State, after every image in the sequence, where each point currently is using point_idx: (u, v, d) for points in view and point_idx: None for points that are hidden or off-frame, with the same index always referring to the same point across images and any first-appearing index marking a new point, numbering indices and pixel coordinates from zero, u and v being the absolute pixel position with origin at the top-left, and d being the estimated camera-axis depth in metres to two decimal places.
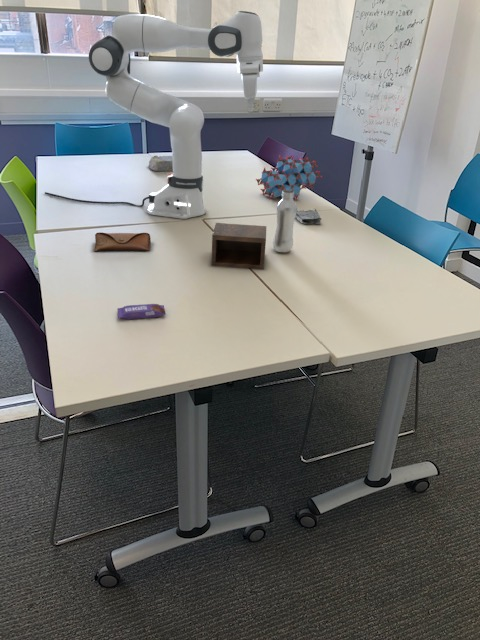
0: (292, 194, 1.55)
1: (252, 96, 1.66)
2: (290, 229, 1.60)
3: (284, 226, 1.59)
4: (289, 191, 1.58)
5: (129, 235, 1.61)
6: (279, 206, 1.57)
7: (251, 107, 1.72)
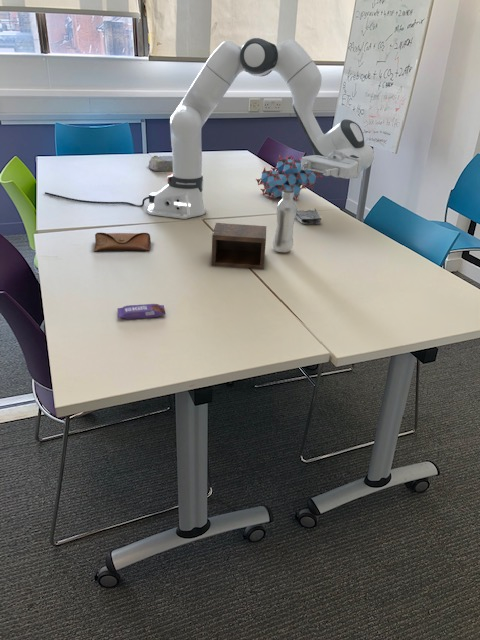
0: (292, 194, 1.55)
1: (348, 175, 1.59)
2: (290, 229, 1.60)
3: (284, 226, 1.59)
4: (289, 191, 1.58)
5: (129, 235, 1.61)
6: (279, 206, 1.57)
7: (329, 173, 1.59)
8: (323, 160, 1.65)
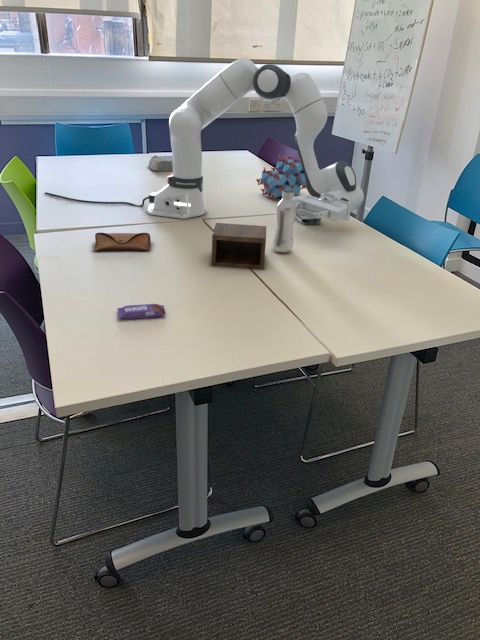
0: (292, 194, 1.55)
1: (337, 219, 1.64)
2: (290, 229, 1.60)
3: (284, 226, 1.59)
4: (289, 191, 1.58)
5: (129, 235, 1.61)
6: (279, 206, 1.57)
7: (320, 215, 1.64)
8: (314, 201, 1.70)
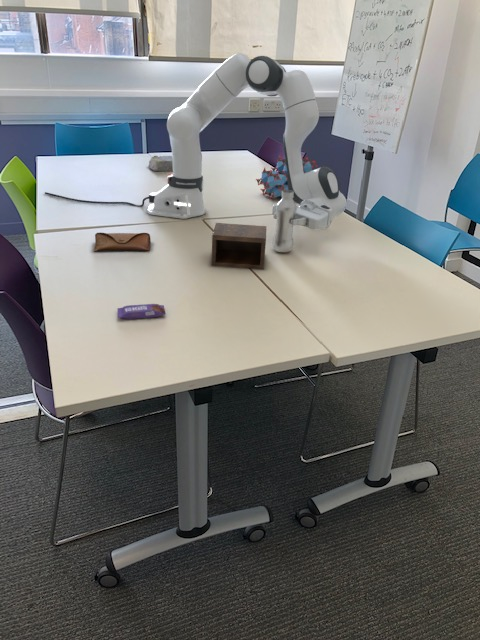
0: (292, 194, 1.55)
1: (317, 227, 1.58)
2: (290, 229, 1.60)
3: (284, 226, 1.59)
4: (289, 191, 1.58)
5: (129, 235, 1.61)
6: (279, 206, 1.57)
7: (296, 223, 1.58)
8: None
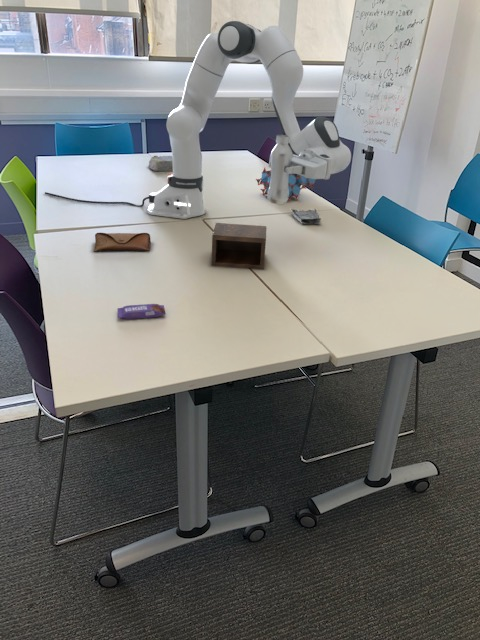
0: (287, 138, 1.44)
1: (314, 175, 1.46)
2: (285, 178, 1.49)
3: (278, 174, 1.48)
4: (284, 136, 1.47)
5: (129, 235, 1.61)
6: (273, 152, 1.46)
7: (291, 171, 1.47)
8: None
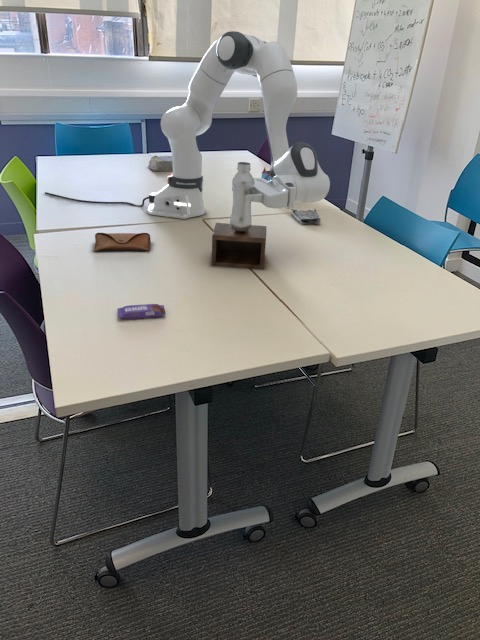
0: (246, 166, 1.41)
1: (269, 204, 1.41)
2: (245, 206, 1.46)
3: (237, 201, 1.46)
4: (247, 164, 1.44)
5: (129, 235, 1.61)
6: (233, 179, 1.44)
7: (251, 199, 1.43)
8: (258, 184, 1.49)
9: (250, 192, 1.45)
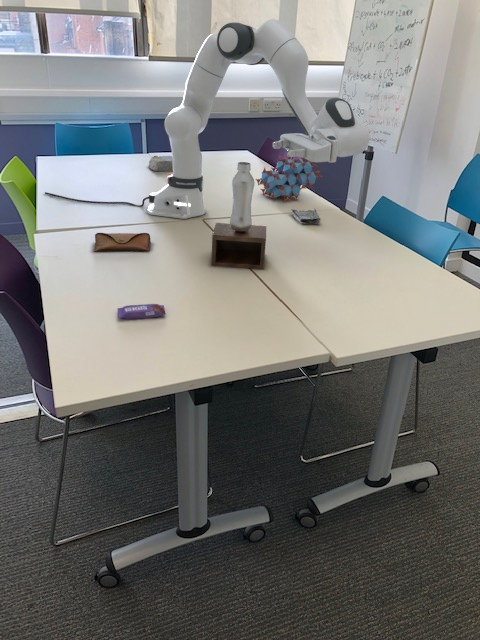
0: (246, 166, 1.41)
1: (313, 158, 1.41)
2: (245, 206, 1.46)
3: (237, 201, 1.46)
4: (247, 164, 1.44)
5: (129, 235, 1.61)
6: (233, 179, 1.44)
7: (294, 154, 1.43)
8: (298, 139, 1.49)
9: (250, 192, 1.45)
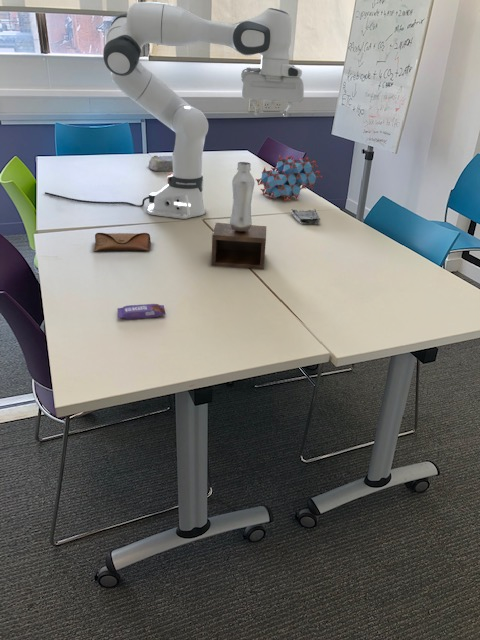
0: (246, 166, 1.41)
1: None
2: (245, 206, 1.46)
3: (237, 201, 1.46)
4: (247, 164, 1.44)
5: (129, 235, 1.61)
6: (233, 179, 1.44)
7: (287, 112, 1.64)
8: (267, 93, 1.60)
9: (250, 192, 1.45)
